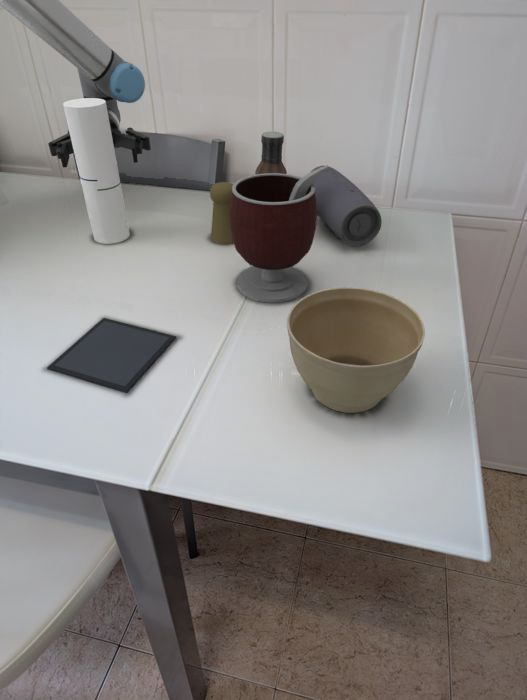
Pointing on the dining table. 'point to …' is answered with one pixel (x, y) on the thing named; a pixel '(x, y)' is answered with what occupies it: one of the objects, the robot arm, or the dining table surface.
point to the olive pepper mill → (221, 213)
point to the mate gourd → (273, 232)
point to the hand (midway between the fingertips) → (99, 158)
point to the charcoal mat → (113, 354)
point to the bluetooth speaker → (346, 208)
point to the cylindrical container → (97, 168)
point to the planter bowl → (353, 345)
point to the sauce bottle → (271, 154)
